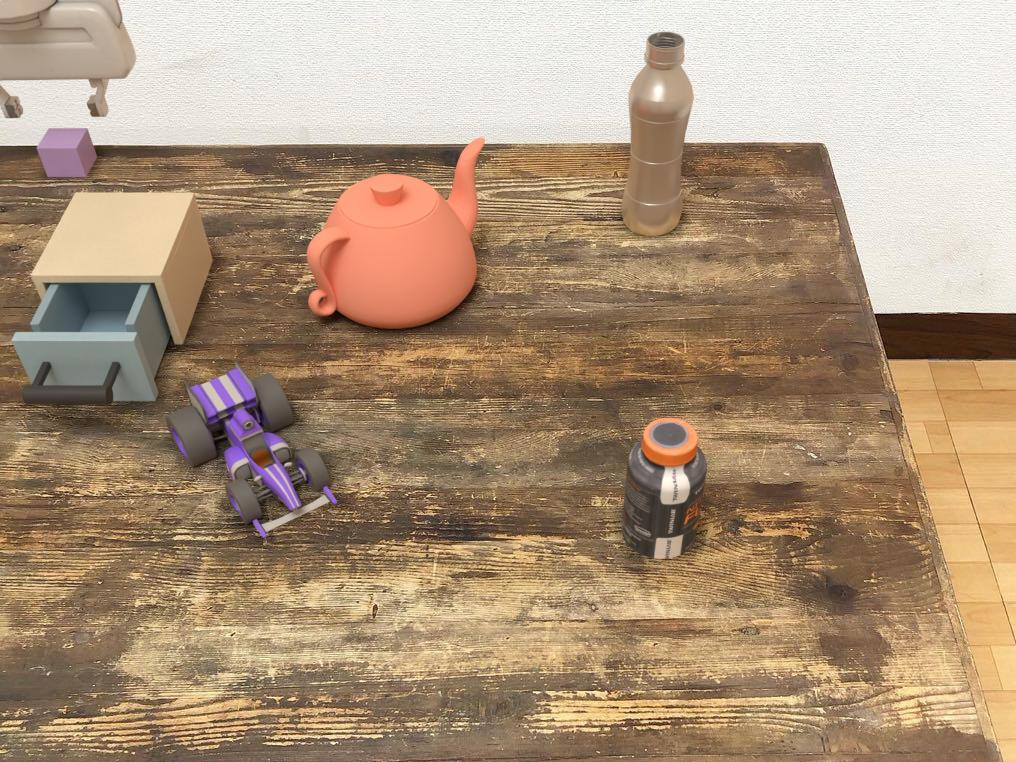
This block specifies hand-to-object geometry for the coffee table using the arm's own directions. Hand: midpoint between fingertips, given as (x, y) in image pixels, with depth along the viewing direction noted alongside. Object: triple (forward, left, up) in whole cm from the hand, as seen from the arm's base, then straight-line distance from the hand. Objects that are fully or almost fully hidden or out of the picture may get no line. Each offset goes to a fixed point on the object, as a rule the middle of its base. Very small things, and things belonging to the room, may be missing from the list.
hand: (57, 115), depth 117 cm
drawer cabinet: (+14, -26, -7) cm, 30 cm away
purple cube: (0, -1, -7) cm, 7 cm away
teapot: (+40, -22, -7) cm, 46 cm away
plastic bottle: (+65, -12, -7) cm, 66 cm away
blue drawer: (+14, -36, -6) cm, 39 cm away
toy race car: (+30, -48, -7) cm, 57 cm away
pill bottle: (+63, -55, -7) cm, 84 cm away
